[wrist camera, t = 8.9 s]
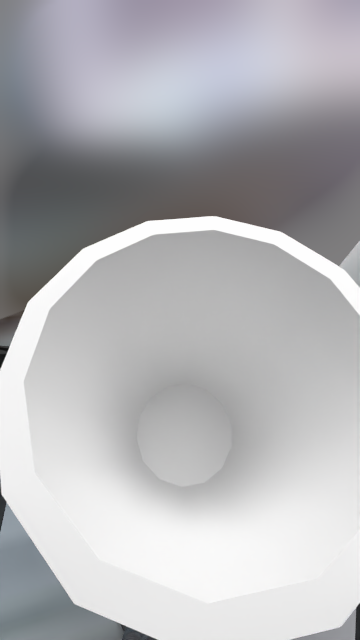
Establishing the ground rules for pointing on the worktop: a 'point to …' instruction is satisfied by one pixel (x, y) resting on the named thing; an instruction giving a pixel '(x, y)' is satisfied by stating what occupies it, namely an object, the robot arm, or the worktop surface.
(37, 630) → the worktop surface
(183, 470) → the foam cup
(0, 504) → the robot arm
